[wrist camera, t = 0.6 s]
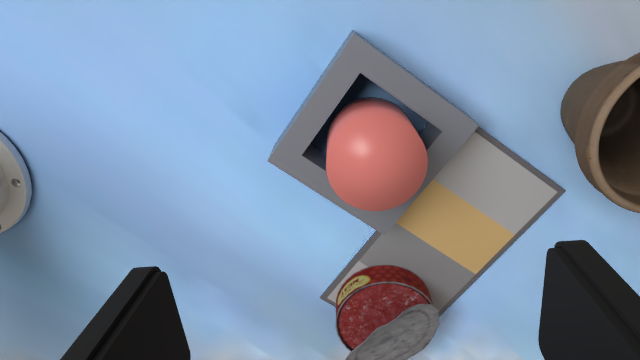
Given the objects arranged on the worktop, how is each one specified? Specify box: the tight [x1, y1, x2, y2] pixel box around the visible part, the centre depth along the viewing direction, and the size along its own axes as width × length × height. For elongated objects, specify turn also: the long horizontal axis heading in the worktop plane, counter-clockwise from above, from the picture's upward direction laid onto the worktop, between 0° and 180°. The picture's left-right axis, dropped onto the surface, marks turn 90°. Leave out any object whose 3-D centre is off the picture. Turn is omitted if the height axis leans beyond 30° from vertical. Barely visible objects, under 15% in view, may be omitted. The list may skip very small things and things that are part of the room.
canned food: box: [336, 264, 439, 360], centre depth 43 cm, size 11×10×10 cm
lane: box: [320, 127, 565, 316], centre depth 43 cm, size 23×12×1 cm, turn 146°
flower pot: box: [561, 53, 640, 213], centre depth 32 cm, size 12×11×10 cm
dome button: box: [326, 97, 428, 211], centre depth 33 cm, size 7×7×6 cm
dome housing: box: [268, 30, 479, 235], centre depth 37 cm, size 12×12×4 cm
